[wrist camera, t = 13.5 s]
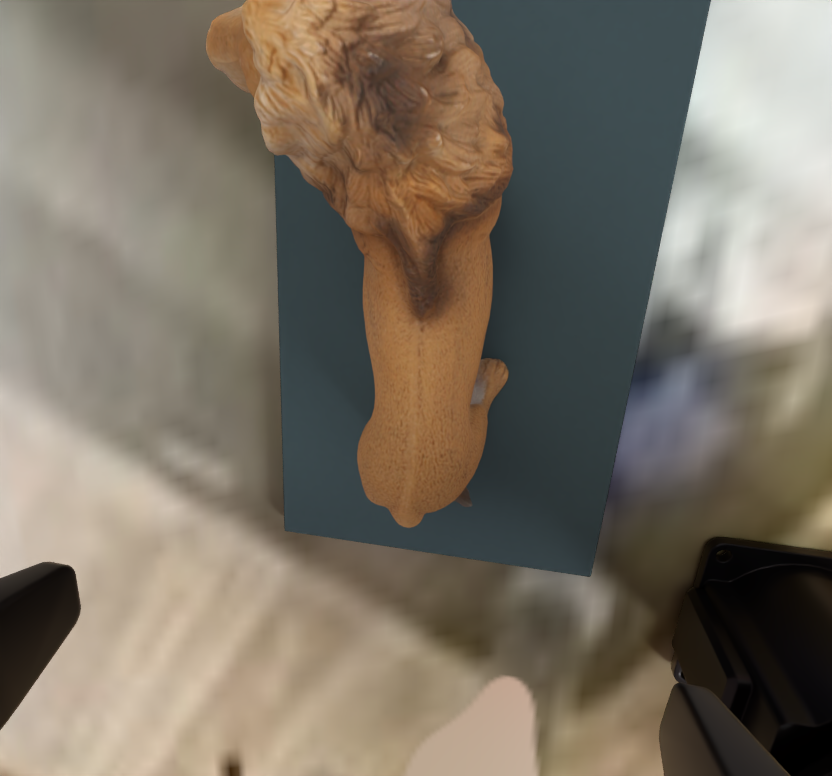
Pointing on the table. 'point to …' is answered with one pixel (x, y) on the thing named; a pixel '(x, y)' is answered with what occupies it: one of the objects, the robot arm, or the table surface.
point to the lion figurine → (395, 209)
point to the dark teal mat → (509, 287)
